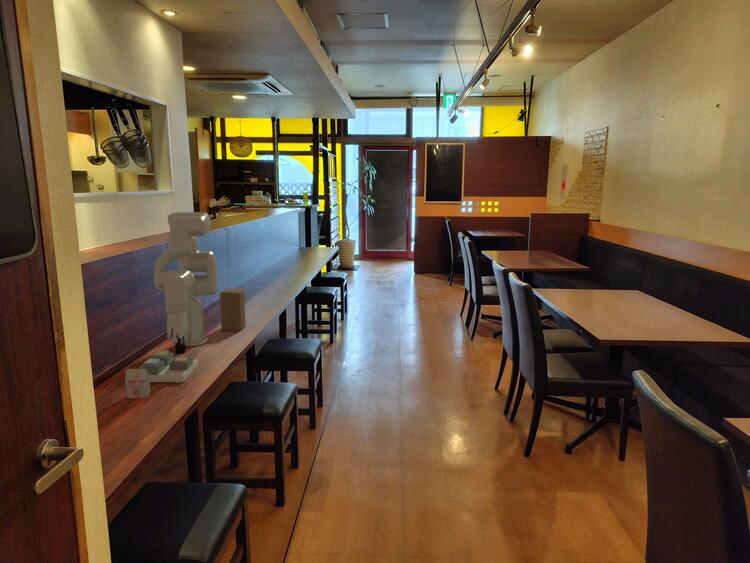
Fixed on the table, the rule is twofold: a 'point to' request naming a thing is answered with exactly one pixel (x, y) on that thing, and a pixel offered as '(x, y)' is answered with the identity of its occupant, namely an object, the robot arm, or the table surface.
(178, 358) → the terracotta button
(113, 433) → the table surface
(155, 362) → the slate button
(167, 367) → the button panel
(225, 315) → the wooden block
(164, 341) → the table surface
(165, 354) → the sage button
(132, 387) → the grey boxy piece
